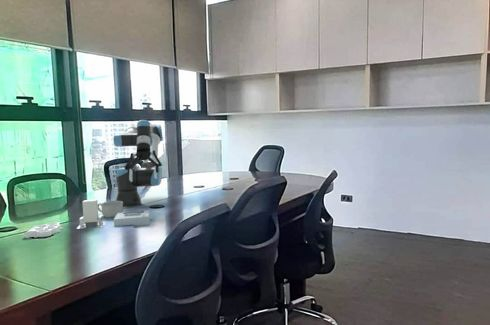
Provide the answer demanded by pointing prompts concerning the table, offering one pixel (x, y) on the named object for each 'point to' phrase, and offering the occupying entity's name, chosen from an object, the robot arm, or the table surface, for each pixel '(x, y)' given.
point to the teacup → (111, 208)
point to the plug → (90, 212)
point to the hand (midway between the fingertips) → (143, 179)
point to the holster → (82, 225)
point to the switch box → (132, 218)
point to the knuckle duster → (43, 230)
